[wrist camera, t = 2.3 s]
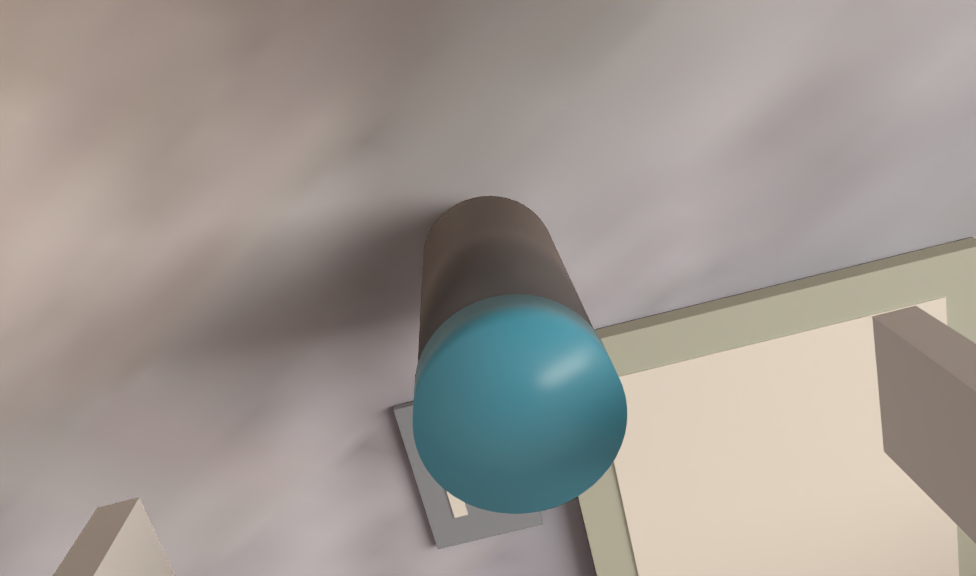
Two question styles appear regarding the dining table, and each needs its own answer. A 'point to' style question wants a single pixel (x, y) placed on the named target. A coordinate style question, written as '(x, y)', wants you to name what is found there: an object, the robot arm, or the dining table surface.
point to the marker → (509, 366)
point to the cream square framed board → (775, 433)
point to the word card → (454, 500)
